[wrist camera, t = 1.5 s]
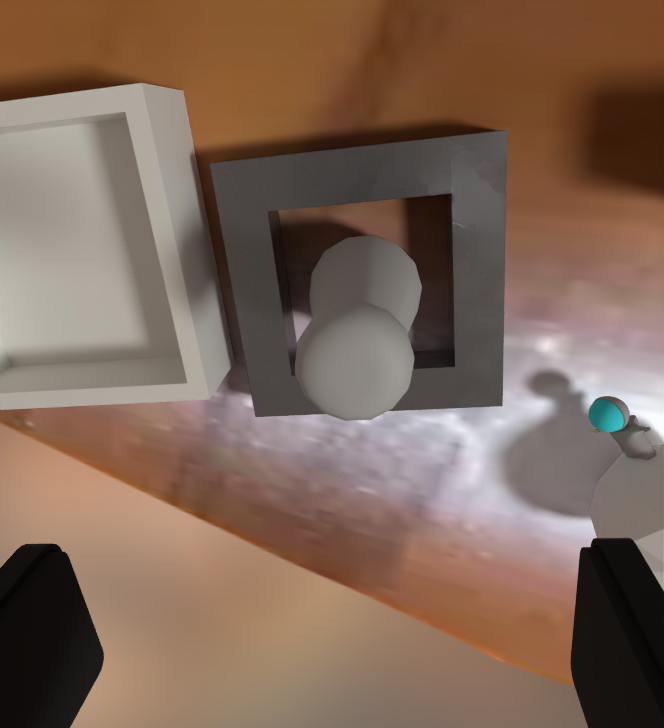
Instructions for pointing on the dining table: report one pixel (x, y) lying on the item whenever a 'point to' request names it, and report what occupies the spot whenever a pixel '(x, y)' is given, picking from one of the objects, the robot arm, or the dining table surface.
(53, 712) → the robot arm
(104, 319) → the bin
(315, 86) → the dining table surface
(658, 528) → the perfume bottle
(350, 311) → the salt shaker
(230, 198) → the collar block
